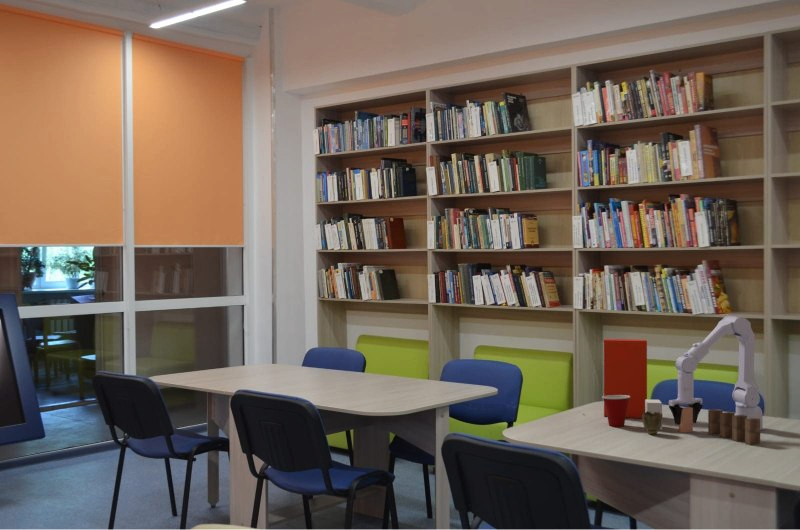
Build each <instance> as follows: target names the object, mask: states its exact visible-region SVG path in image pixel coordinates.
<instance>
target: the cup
mask: <svg viewBox="0 0 800 530" xmlns="http://www.w3.org/2000/svg"><path fill="white" fill-rule="evenodd" d="M641 419H642V425H643V427H644V429H646V430H647V431H646V432H647V434H648V435H652V436H655V435H657V434H658V429H660V427H661V423H662V424H663V412H662V413H661V414H660V413H659V412H658V413H657V412H654V414H653V413H652V414H651V412H648V411H647V412H646V413H645V412H644V413H643V412H642V418H641Z"/></svg>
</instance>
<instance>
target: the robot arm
mask: <svg viewBox="0 0 800 530" xmlns="http://www.w3.org/2000/svg"><path fill="white" fill-rule="evenodd" d="M751 325H752V323H751V322H750V321H749V320H748V319H747V318H745V317H744V316H733V315H725V316H724V317H723V318H722V319H721V320H720V321H718V323H717V325H716V326H715V327H714V329H713V330H711V332H710V333H709V334H708V335H707V336H706V337H705V338H704V339H703V340H702V341H701V342H696V343H693V344H692V345H691V346H692V347H690V349H689V350H688V351H687V352H684V353H683V356H678V358H677V359H676V362H675V363H674V366H675V369H676V370H677V398H675V399H669V400H668V408H669V411H670V412H671V414H672V416H673V419H674V424H675V425H678V426H679V425H680V423H681V413H682V409H683V407H681V406H684V405H688V407H691V408H693V424H696V423H697V420H698V417H699V414H700V413H701V410H702V409H703V398H700V397H694V394H695V393H694V386H695V385H694V384H695V383H694V378H695V377H694V374H695V373H694V372H695V371H696V370H697V367H698V364H699V363H700V362H701V361H703V359H704V358H706V356H708V354H709V353H710V348H711V347H713V346H714V344H716V343H717V342H719V340H721V339H722V338H723V337H724V336H728V335H729V336H730V335H733V336H734V337H735V338H736V339H737V340H738V345H739V347H738V372H737V373H738V374H737V375H738V377H737V378H738V380H737V381H736V382H735V383H734V388H733V391H732V392H731V393H732V399H733V401H734V402H735V415H746V416H747V419H748V418H759V419H760V431H763V430H765V428H764V427H763V423H764V421H763V416H764V415H763V411H762V409H761V407H760V406H759V403H760V400H761V396H760V394H759V391H758V389H759V388H758V386H757V385H756V383H755V380H754V378H755V377H754V375H755V373H754V372H755V340H756V338H755V333H754V331H753V329H752V327H751Z"/></svg>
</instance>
